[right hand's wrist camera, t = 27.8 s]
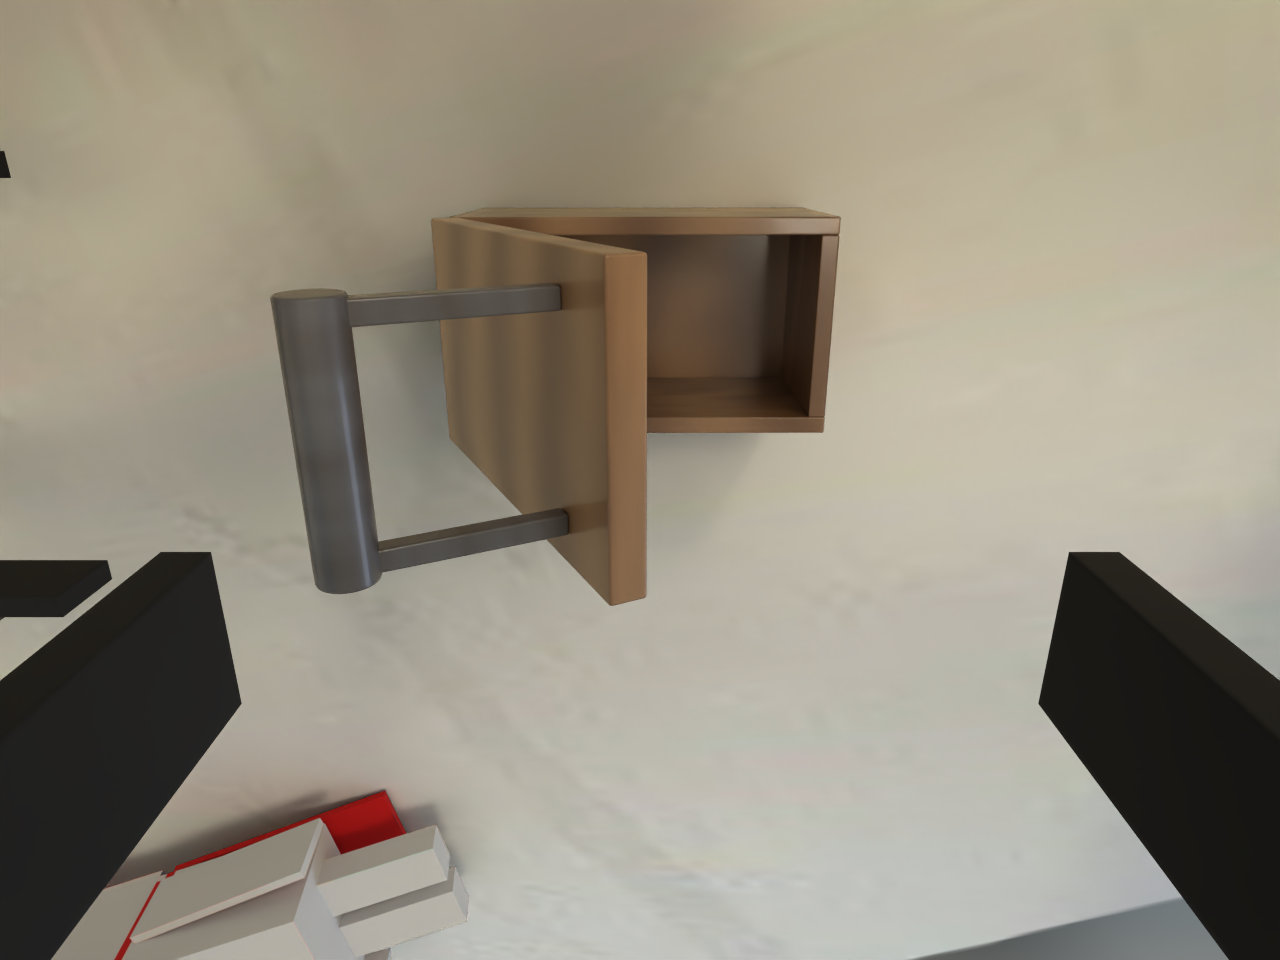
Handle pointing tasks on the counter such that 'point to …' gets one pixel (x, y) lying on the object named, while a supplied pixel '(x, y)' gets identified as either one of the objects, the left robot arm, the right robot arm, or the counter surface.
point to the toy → (285, 896)
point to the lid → (488, 404)
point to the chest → (721, 308)
